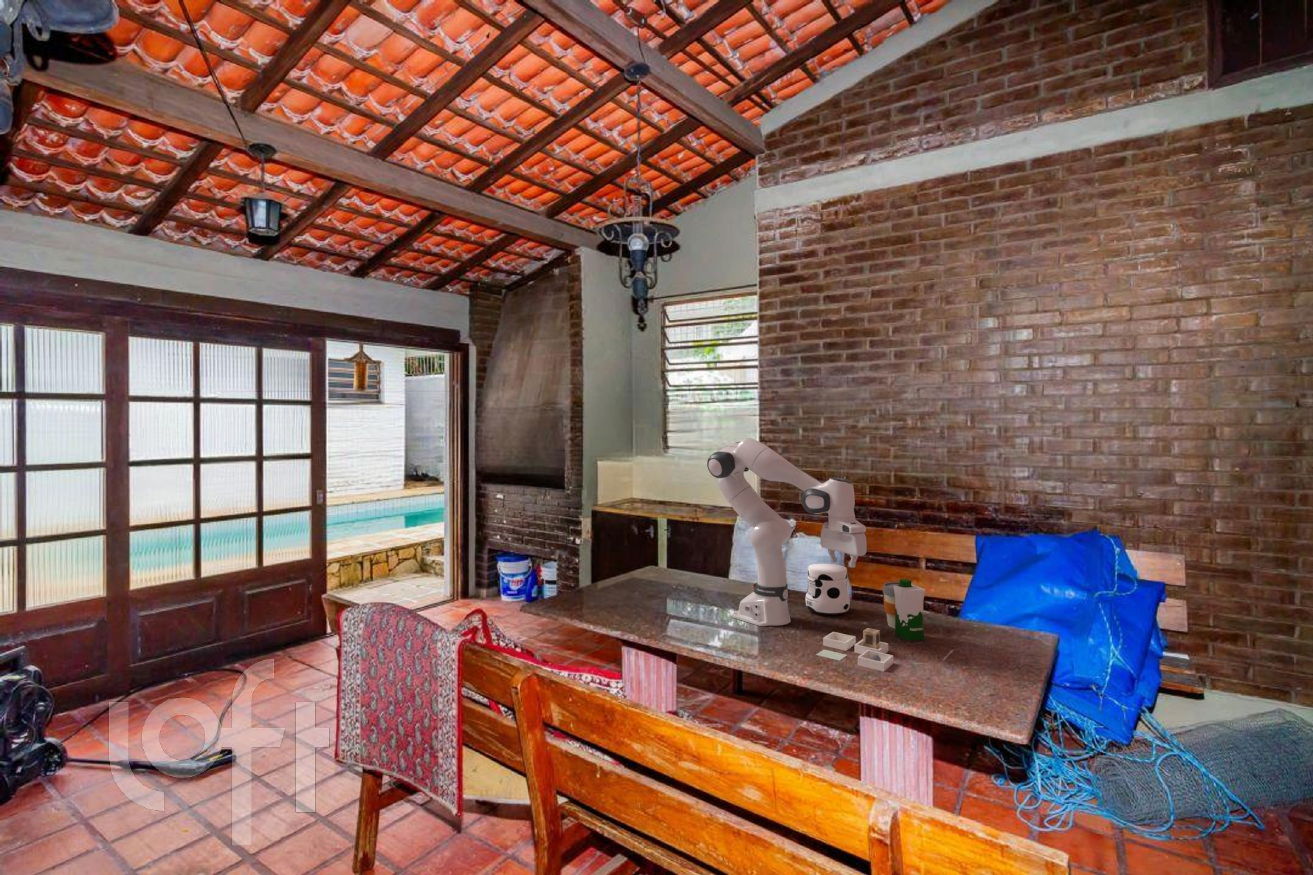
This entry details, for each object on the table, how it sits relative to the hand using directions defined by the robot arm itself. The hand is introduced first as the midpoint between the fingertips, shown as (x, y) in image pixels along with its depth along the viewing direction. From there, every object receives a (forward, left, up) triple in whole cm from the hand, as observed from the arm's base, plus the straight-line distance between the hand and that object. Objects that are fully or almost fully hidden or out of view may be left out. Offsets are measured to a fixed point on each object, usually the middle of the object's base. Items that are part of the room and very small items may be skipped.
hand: (842, 564), depth 215 cm
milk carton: (+16, +19, -27) cm, 37 cm away
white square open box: (+16, -14, -27) cm, 35 cm away
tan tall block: (+11, -4, -27) cm, 29 cm away
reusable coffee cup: (+9, +31, -27) cm, 43 cm away
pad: (+2, -15, -27) cm, 31 cm away
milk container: (-20, +31, -27) cm, 46 cm away
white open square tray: (0, -4, -27) cm, 27 cm away
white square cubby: (+11, -4, -27) cm, 30 cm away
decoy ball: (+16, -14, -25) cm, 33 cm away
